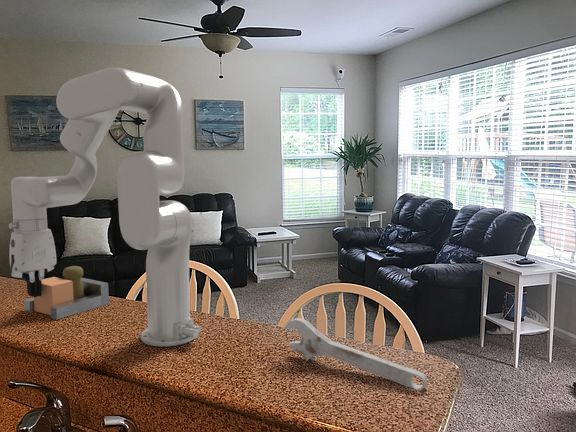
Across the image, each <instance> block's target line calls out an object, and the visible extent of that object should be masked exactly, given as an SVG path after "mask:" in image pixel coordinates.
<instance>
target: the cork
mask: <svg viewBox="0 0 576 432" xmlns="http://www.w3.org/2000/svg"><path fill="white" fill-rule="evenodd" d="M83 276H84V269H83V268H82V267H81V266H79V265H71V266H67V267H65V268H64V269H63V271H62V277H63V279H66V280H70V281H73V298H74V300H77V299H80V298H84V297H85V294H84V289H83V284H82V278H83Z"/></svg>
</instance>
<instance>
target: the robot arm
mask: <svg viewBox="0 0 576 432" xmlns="http://www.w3.org/2000/svg"><path fill="white" fill-rule="evenodd" d="M55 100H56V107H57V109H58V112H59V114H61V116H63V117H65V118H66V119H68V120H67V122H66V124H65V126H64V128H63V129H62V132H61V133H60V135H59V142H60V144H61V145H62V146H63V147H64V148H65V149H66V150H67V152H69V153H71V154H73V155H75V160H74V163H73V165H72V167H71V169H70V171H69V172H68V174H66V175H55V176H54V175H51V176H17V177H14V178H12V179H11V182H10V188H11V189H10V191H11V192H10V193H11V202H12V203H11V205H12V207H11V208H12V222H10V223H8V228H9V229H12V230H13V231H12V232H11V235H10V239H9V240H10V241H9V253H8V254H9V257H8V258H9V268H10V270H12V271H11V277H12V278H20V279H23V280H24V281H25V282H26V292H27V295H28V296H29V297H31V298H34V297H37V296H41V295H42V293H41V291H42V281H41V280H43V279H45V276H46V274H47V273H49V272H51V271H52V270H53V271H54V269H55V266H56V265H57V253H56V252H57V251H56V245H55V240H54V236H53V233H52V230H51V229H50V228H48V215H47V213H48V212H47V209H48V208H56V207H63V206H71V205H77V204H79V203H80V202H81V201H82V200H83V199H84V198H86V196H87V195H88V193H89V191H90V190H91V188H92V186H93V185H94V183H95V180H96V178H97V173H98V160H97V156H96V153H97V152H98V150H99V147H100V146H101V145H102V142H103V140H104V138H105V137H106V135H107V134H108V132H109V130H110V128H111V126H112V124H113V123H114V121H115V120H116V118H117V115H118V114H119V111H125V112H131V113H141V114H145V115H147V116H148V117H147V118H146V121H145V123H144V126H143V133H142V140H143V150H140V151H134V152H131V153H130V154H127V156H126V157H124V159H123V160H122V161H121V163H120V164H119V167H118V171H117V179H116V183H117V201H118V202H117V206H118V220H119V221H118V222H119V228H120V233H121V236H122V238H123V240H124V241H125V243H126V244H127V245H128V246H129V247H130V248H132V249H135V250H140V251H145V250H147V253H146V254H147V255H146V260H145V275H146V276H145V278H146V279H145V280H146V309H147V311H146V313H147V328H146V329H144V330H142V332H141V333H140V339H141V341H142V342H143V344H146V345H148V346H151V347H159V348H161V347H165V348H166V347H175V346H181V345H184V344H187V343H190V342H191V341H193V340H195V339H197V338H198V337H199V334H200V333H201V332H202V330H203V329H202V327H201V326H199V325H195V324H194V321H195V320H194V317H191V298H190V297H191V296H190V248H191V247H190V246H191V240H192V239H191V238H192V232H193V217H192V214H191V212H190V210H189V208H188V207H187V206H186V205H185V204H183V203H181V202H180V201H177V200H171V199H170V200H168V199H167V200H160V196H166V195H171V194H174V193H177V192H178V191H180V190H181V189H182V187H183V185H184V182H185V175H186V174H185V154H184V151H185V149H184V137H183V136H184V134H183V133H184V131H183V130H184V129H183V128H184V127H183V125H184V123H183V122H184V107H183V101H182V98H181V96H180V93H179V91H178V90H177V89H176V88H175V87H174V86H173V85H172V84H171V83H170V82H167V81H166V80H163V79H162V78H159V77H156V76H153V75H151V74H147V73H143V72H139V71H138V72H137V71H134V70H130V69H127V68H122V67H107V68H103V69H100V70H97V71H94V72H91V73H88V74H84V75H80V76H78V77H75V78H72V79H70V80H68V81H66V82H65V83H64V84H63V85H62V86H61V87H60V88H59V90H58V91H57V94H56V99H55Z"/></svg>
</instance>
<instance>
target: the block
mask: <svg viewBox="0 0 576 432" xmlns="http://www.w3.org/2000/svg"><path fill="white" fill-rule="evenodd" d="M41 281H42V291H41V293H42V295H41V296H37V297H33V298H34V309H35V311H34V312H38V313H41V314H45V315H48V316H51V312H50V307H52V306H56V305H59V304H63V303H66V302H70V301H73V300H74V298H73V281H70V280H66V279H65V278H60V277H56V276H52V277H48V278H44V279H43V280H41Z"/></svg>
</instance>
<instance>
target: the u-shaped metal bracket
mask: <svg viewBox="0 0 576 432" xmlns="http://www.w3.org/2000/svg"><path fill="white" fill-rule="evenodd" d="M82 284H83V289H84V294H85V297H84V298H80V299H77V300H73V301H70V302H66V303H63V304H59V305H56V306H52V307H50V312H51V315H50V319H51V318H53V319H52V320H55V319H56V321H58V319H59V320H61V318H62V319H65V318H67V316H68V317H71V316H74V314H75V315H77V313H78V314H80V313H83V312H86V311H87V312H88V311H89V310H93V309H96V308H100V307H102V306H103V307H104V306H105V305H106V306H107V305H108V304H110V299H109V298H110V296H109V294H110V293H109V282H105V281H101V280H95V279H91V278H86V277H82ZM23 305H24V307H23V308H24V312H26V313H27V312H28V313H33V312H36V311H35V309H34V297H30V298H27V299H24V300H23ZM64 317H65V318H64Z"/></svg>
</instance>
